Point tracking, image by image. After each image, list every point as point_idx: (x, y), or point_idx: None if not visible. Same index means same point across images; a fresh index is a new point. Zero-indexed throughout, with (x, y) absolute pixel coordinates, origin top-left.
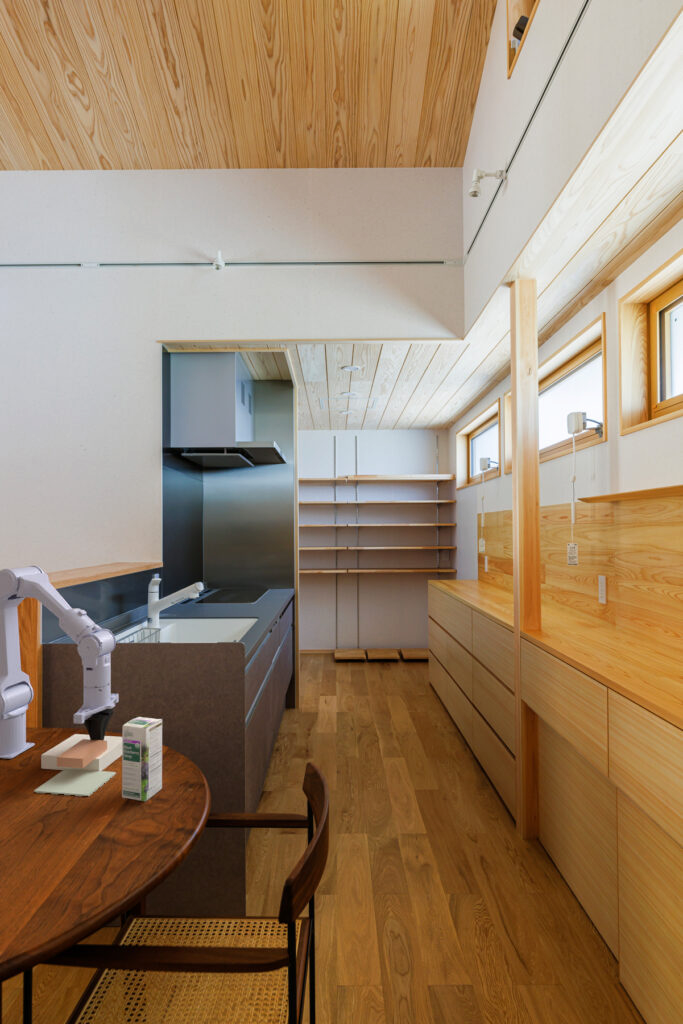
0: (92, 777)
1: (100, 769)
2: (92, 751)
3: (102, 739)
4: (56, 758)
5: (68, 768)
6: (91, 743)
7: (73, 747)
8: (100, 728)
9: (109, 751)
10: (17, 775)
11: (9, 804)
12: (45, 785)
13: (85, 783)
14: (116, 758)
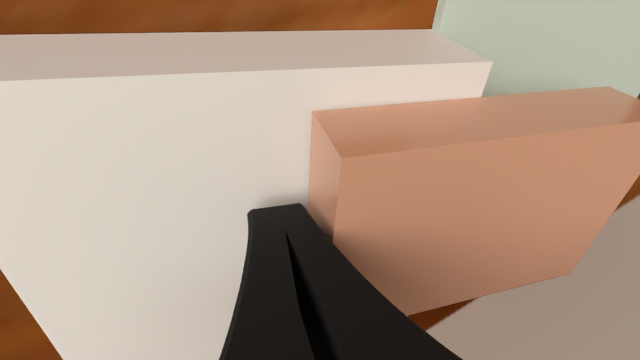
0: (527, 18)
1: (424, 34)
2: (571, 131)
3: (285, 227)
4: None
5: None
6: (404, 241)
7: (456, 292)
8: (423, 332)
9: (339, 67)
10: (419, 320)
11: (624, 203)
12: None
13: (593, 13)
14: (201, 34)
